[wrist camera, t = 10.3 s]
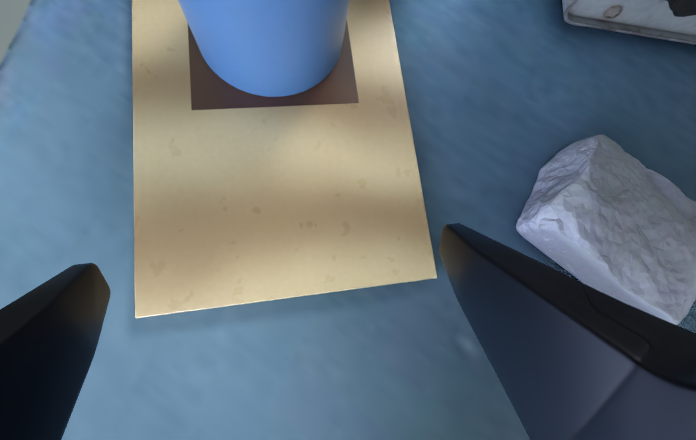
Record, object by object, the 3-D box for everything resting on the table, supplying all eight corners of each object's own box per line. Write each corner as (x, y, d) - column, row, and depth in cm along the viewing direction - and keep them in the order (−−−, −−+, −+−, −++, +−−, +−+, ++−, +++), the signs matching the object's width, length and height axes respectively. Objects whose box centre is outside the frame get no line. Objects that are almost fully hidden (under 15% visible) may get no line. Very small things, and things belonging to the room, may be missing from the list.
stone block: (542, 146, 27) (501, 236, 23) (598, 110, 23) (560, 212, 19) (652, 233, 28) (631, 337, 23) (727, 213, 23) (719, 337, 19)
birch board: (431, 278, 22) (438, 277, 21) (142, 317, 19) (134, 318, 18) (375, -54, 27) (378, -67, 26) (137, -62, 24) (130, -77, 23)
